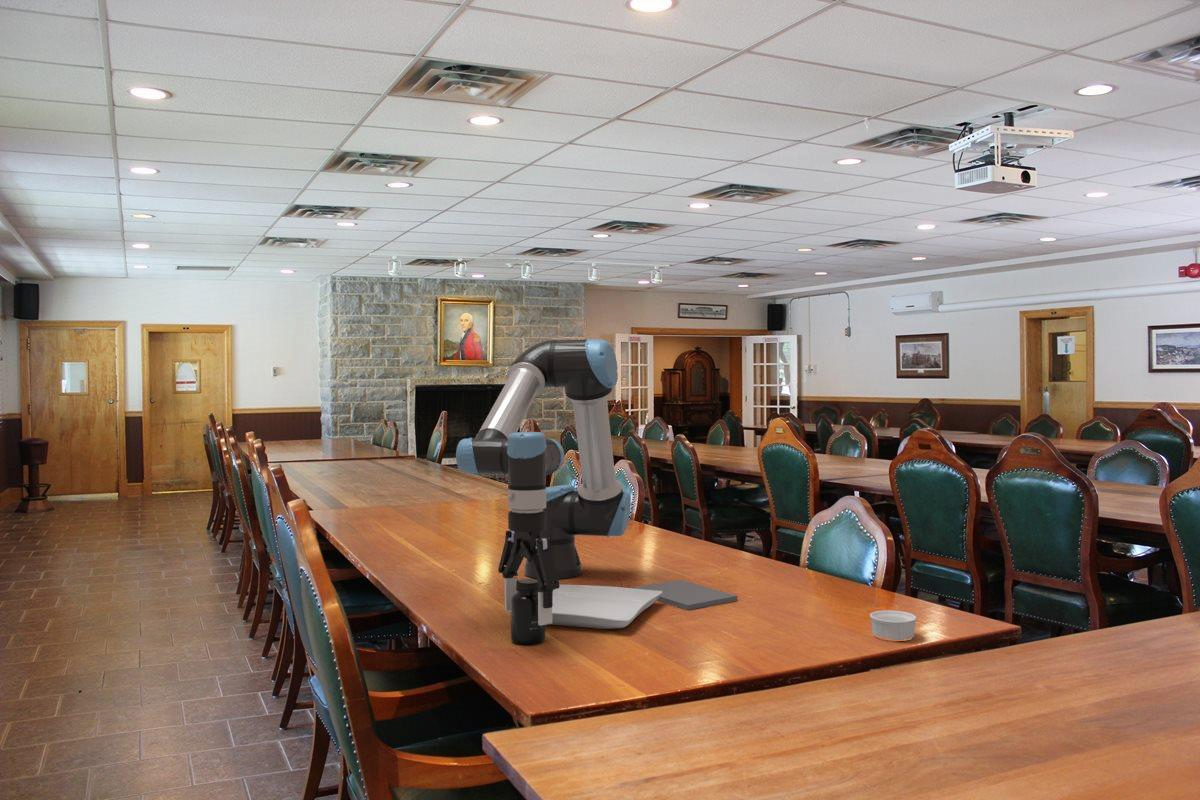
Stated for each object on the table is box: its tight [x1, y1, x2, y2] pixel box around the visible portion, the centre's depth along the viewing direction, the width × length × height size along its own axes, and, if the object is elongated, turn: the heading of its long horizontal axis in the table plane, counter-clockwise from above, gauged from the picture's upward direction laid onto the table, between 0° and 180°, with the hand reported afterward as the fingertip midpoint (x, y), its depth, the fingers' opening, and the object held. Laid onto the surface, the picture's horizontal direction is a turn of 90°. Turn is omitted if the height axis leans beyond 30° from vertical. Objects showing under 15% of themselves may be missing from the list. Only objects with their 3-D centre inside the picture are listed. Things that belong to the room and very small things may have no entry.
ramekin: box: [869, 609, 918, 640], centre depth 183 cm, size 9×9×4 cm
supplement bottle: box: [510, 578, 546, 646], centre depth 181 cm, size 7×7×12 cm
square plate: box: [508, 583, 663, 630], centre depth 202 cm, size 27×27×4 cm
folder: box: [631, 579, 738, 611], centre depth 217 cm, size 15×21×1 cm
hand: (527, 616), depth 181 cm, fingers open, 13 cm apart
